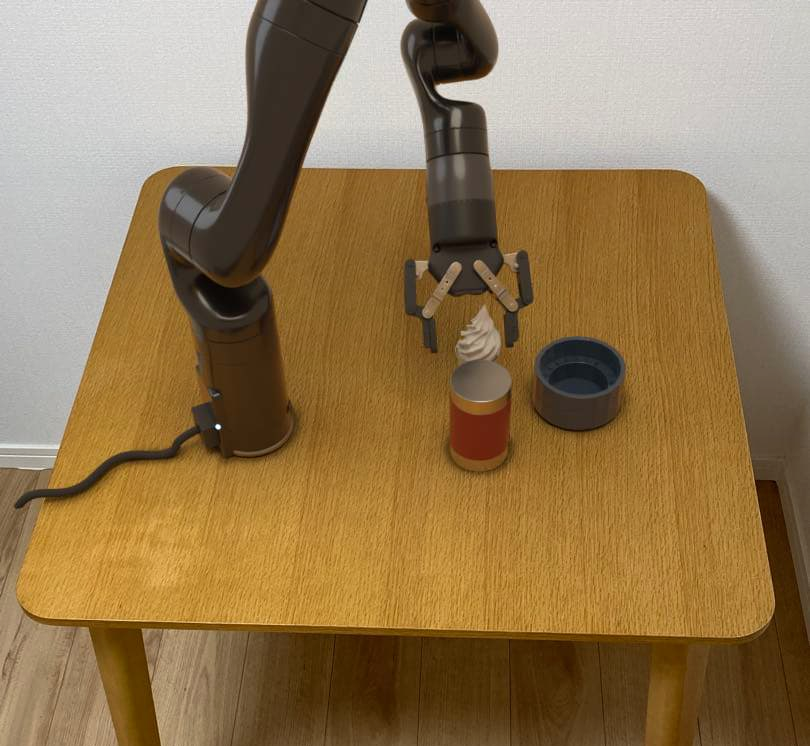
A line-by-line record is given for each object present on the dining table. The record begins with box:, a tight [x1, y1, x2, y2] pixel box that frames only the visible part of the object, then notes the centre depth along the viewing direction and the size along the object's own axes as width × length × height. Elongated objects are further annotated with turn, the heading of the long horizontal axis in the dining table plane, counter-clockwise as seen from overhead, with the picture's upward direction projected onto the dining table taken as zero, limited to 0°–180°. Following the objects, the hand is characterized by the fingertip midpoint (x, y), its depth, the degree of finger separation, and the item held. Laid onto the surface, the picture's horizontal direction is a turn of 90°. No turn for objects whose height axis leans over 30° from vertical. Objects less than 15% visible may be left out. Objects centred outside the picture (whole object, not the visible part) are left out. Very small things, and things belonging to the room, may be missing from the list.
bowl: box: [531, 335, 627, 431], centre depth 138 cm, size 10×10×6 cm
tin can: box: [449, 360, 513, 473], centre depth 131 cm, size 7×7×11 cm
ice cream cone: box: [454, 303, 502, 366], centre depth 135 cm, size 5×5×15 cm
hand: (472, 350), depth 133 cm, fingers open, 8 cm apart
